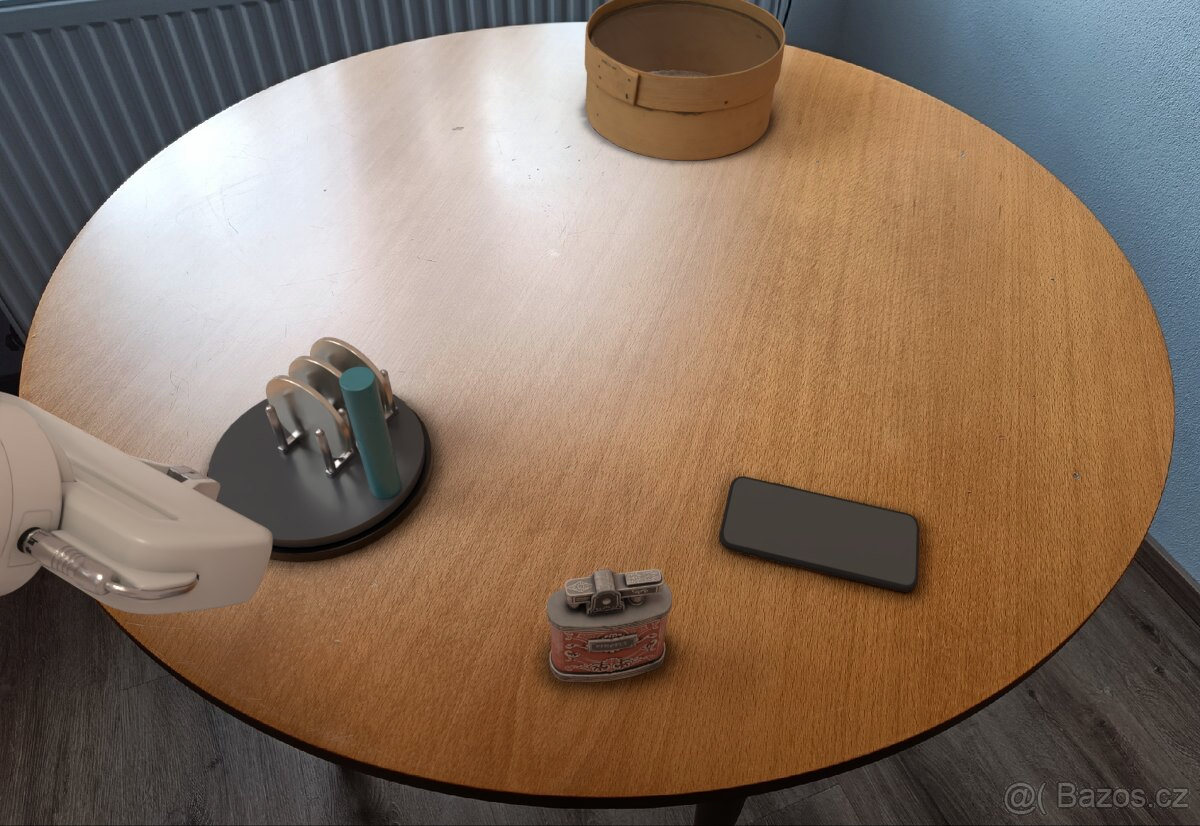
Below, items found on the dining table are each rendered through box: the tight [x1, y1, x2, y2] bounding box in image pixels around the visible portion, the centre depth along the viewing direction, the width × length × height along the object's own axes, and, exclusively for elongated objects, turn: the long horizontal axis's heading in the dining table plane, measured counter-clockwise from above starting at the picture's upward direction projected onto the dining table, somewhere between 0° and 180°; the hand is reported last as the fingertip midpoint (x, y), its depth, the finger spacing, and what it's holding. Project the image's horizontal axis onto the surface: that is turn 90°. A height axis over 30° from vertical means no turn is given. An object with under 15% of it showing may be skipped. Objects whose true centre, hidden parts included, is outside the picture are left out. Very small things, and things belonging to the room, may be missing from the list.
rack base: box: [206, 408, 434, 562], centre depth 71 cm, size 18×18×1 cm
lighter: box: [546, 568, 673, 683], centre depth 56 cm, size 8×3×10 cm, turn 99°
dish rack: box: [207, 336, 425, 548], centre depth 66 cm, size 17×17×13 cm
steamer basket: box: [584, 0, 787, 161], centre depth 110 cm, size 25×25×11 cm
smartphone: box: [718, 475, 920, 593], centre depth 67 cm, size 7×1×15 cm
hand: (199, 486), depth 50 cm, fingers closed
